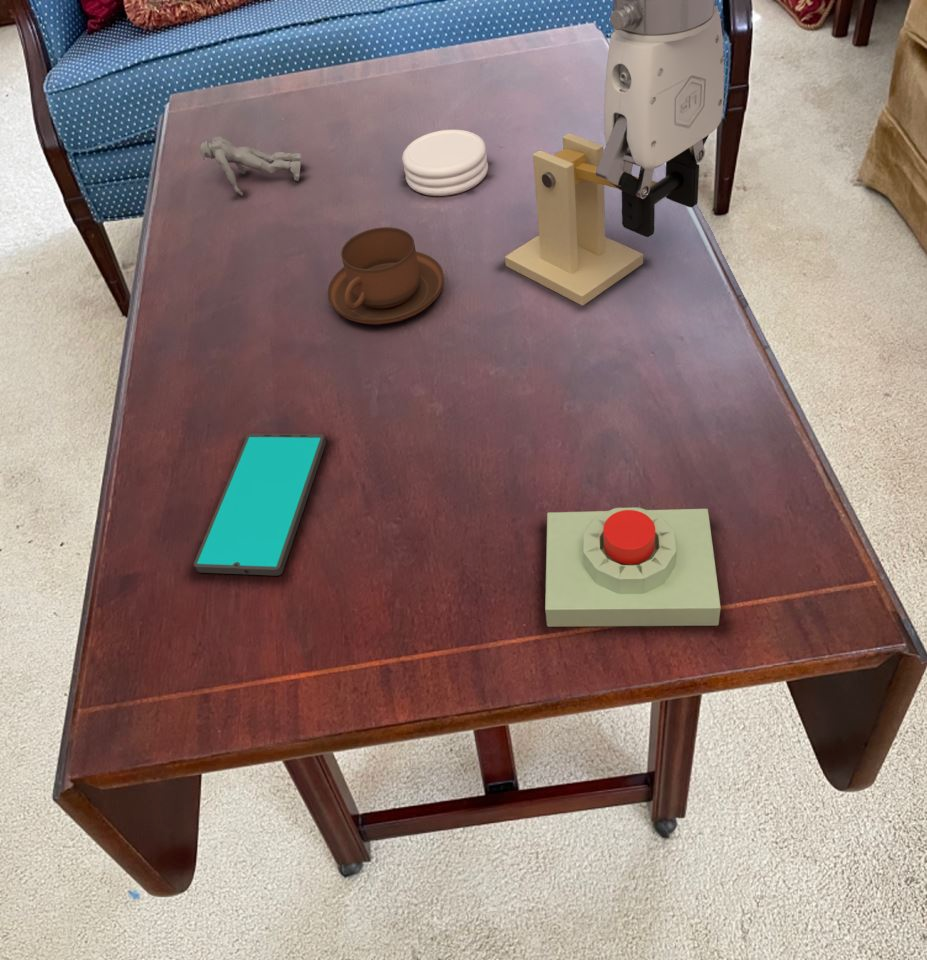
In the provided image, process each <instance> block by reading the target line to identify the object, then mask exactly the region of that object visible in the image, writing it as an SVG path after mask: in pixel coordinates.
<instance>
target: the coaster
mask: <svg viewBox="0 0 927 960" xmlns="http://www.w3.org/2000/svg"><path fill="white" fill-rule="evenodd" d="M401 159H402V161H401V162H402V164H403V171H404V174H405V182H406V183H407V185H408V187H409V188H410V189H412V190H413V191H415V192H417V193H419V194H422V195H424V196H425V195H426V196H432V197H446V196H452V195H458V194H462V193H465V192H467V191H469V190H471V189H473V188H474V187H476V186H477V185H479V184H480V183H481V182H482V181H483V180H484V179H485V177H486V176H487V174H488V171H489V163H488V154H487V145H486V143H485V140H484V139H483V138H482V137H480V136H479V135H478V134H476V133H474V132H472V131H468V130H463V129H442V130H436V131H433V132H429V133H426V134H424V135H421V136H419V137H417V138H416V139H414V140H413V141H412V142H410V143H409V144H408V145H407V146H406V147H405V149H404V151H403V153H402V157H401Z"/></svg>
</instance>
